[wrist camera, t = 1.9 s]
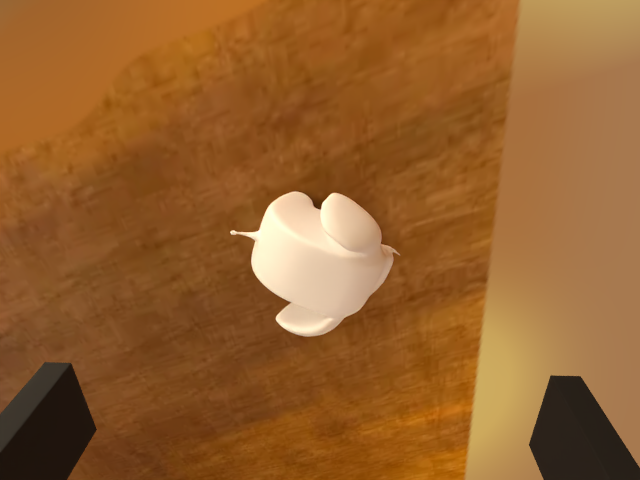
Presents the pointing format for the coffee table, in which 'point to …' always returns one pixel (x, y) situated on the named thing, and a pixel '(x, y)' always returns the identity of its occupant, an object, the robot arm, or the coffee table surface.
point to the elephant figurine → (319, 260)
